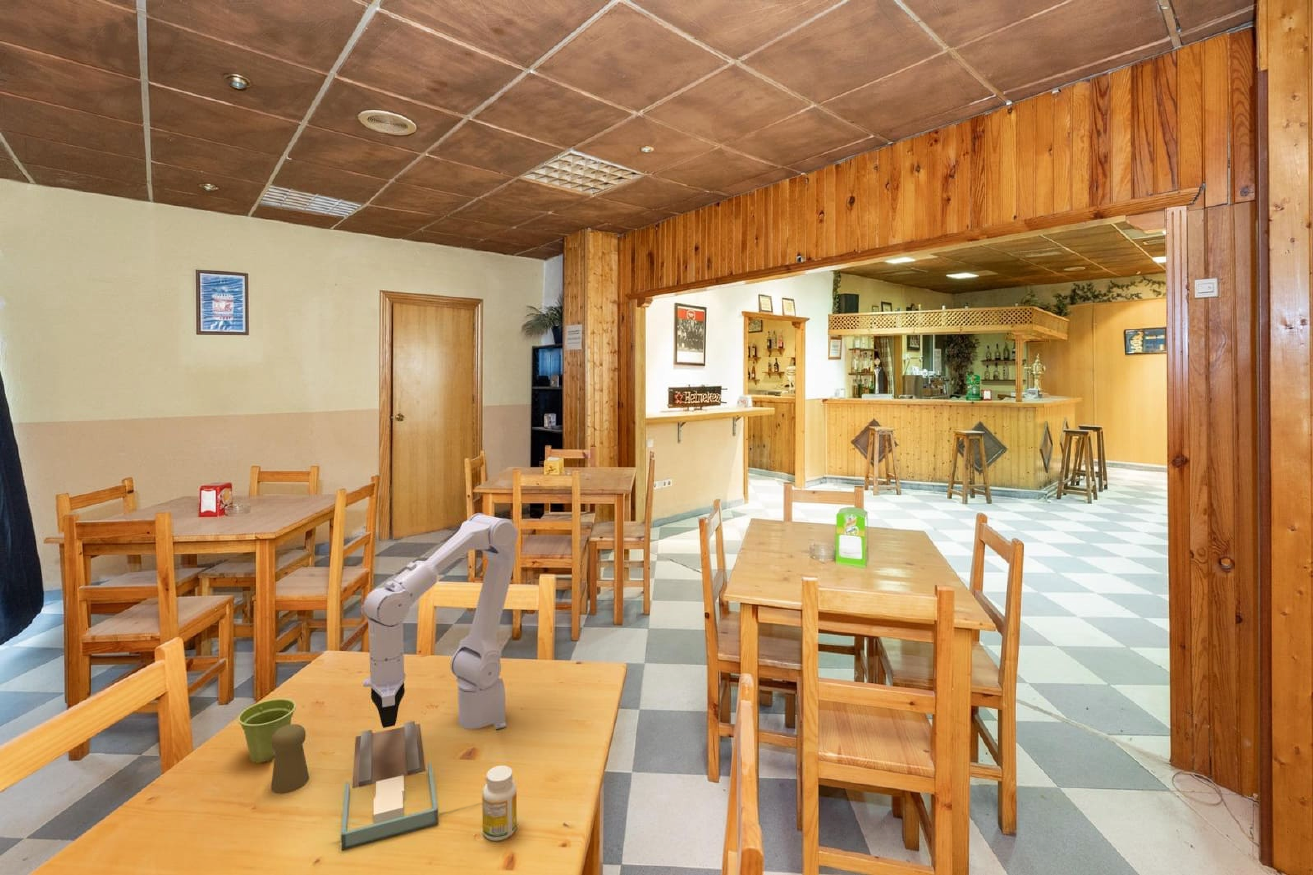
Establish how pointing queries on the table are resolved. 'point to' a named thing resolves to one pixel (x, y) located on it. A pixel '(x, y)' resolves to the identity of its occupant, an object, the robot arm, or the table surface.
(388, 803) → the chip
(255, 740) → the plant pot
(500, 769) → the supplement bottle
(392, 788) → the chip
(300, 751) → the cork
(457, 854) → the table surface
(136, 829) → the table surface
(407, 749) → the slot board
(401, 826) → the tray
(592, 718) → the table surface
